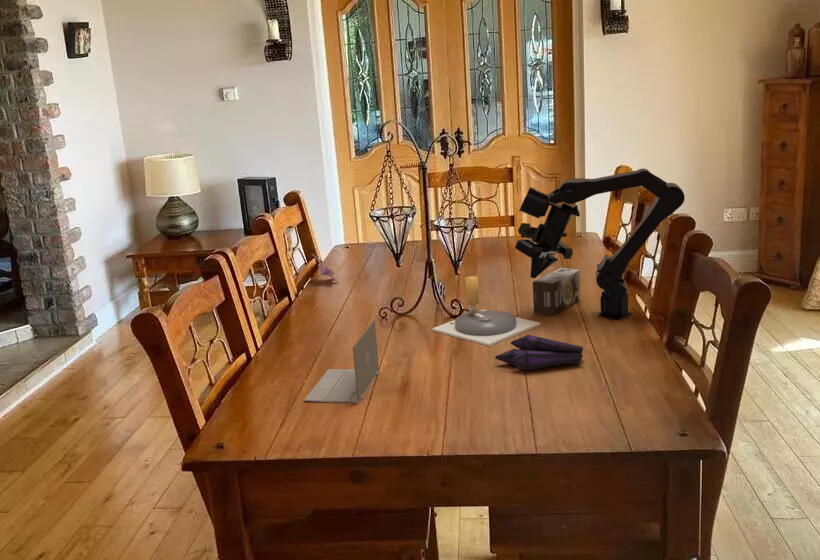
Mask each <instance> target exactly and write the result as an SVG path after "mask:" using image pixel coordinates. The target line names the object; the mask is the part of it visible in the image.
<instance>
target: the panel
mask: <svg viewBox="0 0 820 560" xmlns="http://www.w3.org/2000/svg"><path fill="white" fill-rule="evenodd" d="M479 311H488V310H486V309H481V310H479ZM515 317H516V327H515V328H513V329H512V330H510V331H507V332H504V333H500V334H493V335H472V334H466V333H463V332H460V331H458V330H457V329H456V327H455V320H456V318H455V319H454V320H452V321H449V322H446V323H443V324H440V325H438V326H435V327H432V328H431V331H432V332H436V333H439V334H443V335H446V336H451V337H454V338H457V339H462V340H465V341H468V342H473V343H476V344H479V345H483V346H487V347H491V346H493V345H496V344H497V343H501V342H502V341H505V340H507V339H510V338H512V337H514V336H518V335H520V334H522V333H525V332H527V331H528V330H531V329H533V328H536V327H538V326H540V325H541V323H540V322H538V321H535V320H529V319H525V318H522V317H517V316H515Z"/></svg>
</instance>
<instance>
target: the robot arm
mask: <svg viewBox="0 0 820 560" xmlns="http://www.w3.org/2000/svg"><path fill="white" fill-rule="evenodd" d="M637 187H643V188H645V189H646V190H647V191H648V192H650V193H651V194H653V195H654V199H653V202H652V203H651V206H650V207H649V210H648V211H647V213H646V214H645V216H643V218H642V219H641V220H640V222H639V223H638V224H637V225H636V227H635V228H634V230H632V232H631V233H630V235H629V236H627V238H626V240H624V242H623V243H622V244H621V246H620V247H619V249H617V251H616V252H615V253H613V255H611V256H609V255H608V254H604V256H603V258H602V260H601V261H600V262H599V263H597V264H596V270H595V279H596V281H595V282H596V283H597V284H596V285H597V286H598V287H599V288H600V290H603V291H601V296H600V297H599V298H600V301H599V302H600V312H598V314H597V315H598V316H601V317H604V318H605V317H606V318H610V319H615V320H621V319H623V318H625V317H628V316H630V315H632V313H633V312H632V311H630V310H629V292H628V287H627V283H626V280H625V279H624V278H623V276H624V273H625V272H626V269H627V267H628V264H629V263H630V262H631V260H632V259H633V258H634V257H635V256H636V254H637V252H639V250H640V249H641V248H642V246H644V244H645V243H646V242H647V240H648V239H649V238H650V236H652V234H653V233H654V232H655V230H656V229H657V228H658V226H659V225H660V224H662V222H663V221H664V220H666V219H667V218H668V217H670V216H671V215H672V214H674V213H675V212H676V211H677V210H678V209H680V207H681V206H682V205H683V204H684V202H685V199H686V198H685V193H684V191H683V190H682V188H681V187H680V186H679V185H678V184H677V183H674V182H666V181H665V180H664V179H663V178H661V177H659V176H657V175H655V174H654V173H652V172H651V171H650V170H649V169H647V168H644V167H643V168H639V169H637V170H633V171H627V172H621V173H616V174H612V175H606V176H602V177H597V178H581V177H580V178H578V177H577V178H574V177H573V178H567V179H565V180H563V181H562V182H561V183H560V185H559V187H558V188H556V189H554V190H552V191H551V192H549V193H548V194H547V193H545V192H542V191H540V190H537V189H536V188H534V187H531V186H530V187H529V188H528V191H527V192H526V194H525V196H524V198H523V201H522V203H521V205H520V208H519V212H521V213H524V214H527V215H529V216H532V217H534V218H536V219H540V218H543V217H545V216H546V214H547V216H546V218H545V221H544V223H540V224H539V225H538V226H537V227H536V226H535V227H534V226H531V224H530V223H527V222H521V223H520V225H519V227H518V229H517V233H518V234H519V235H520V239H518V240H517V241H516V244H515V246H514V249H516V250H517V251H519V252H521V253H522V254H523V255H525V256H527V257H528V258H530V259H531V264H530V278H532V279H536V278H537V277H538V276H540V274H542V273H543V272H544V271H545V270H547V269H548V268H549V267H550V266H551V265H553V264H554V263H556V262H558V260H559V259H558V258H556V257H555V255H556V254H561V255H562V256H563V259H564V260H571V259H572V256H573V254H574V251H573V248H572V247H570V246H568V245H567V244H565V243H563V242H562V238H566V237H567V235H568V233H567V232H566V230H567V227H568V225H569V222H570V221H571V217H572V215H573V216H575V217H580V216H581V212H580V210H579V207H578V204H576V203H579V202H581V201H584V200H587V199H589V198H590V197H593V196H595V195H599V194H600V195H601V194H605V193H609V192H615V191H621V190H626V189H630V188H637ZM573 204H575V205H573ZM549 207H550V209H549ZM548 210H549V211H548ZM547 212H548V213H547ZM525 238H526V239H525ZM530 239H531V240H530Z"/></svg>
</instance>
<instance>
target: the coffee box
mask: <svg viewBox="0 0 820 560" xmlns="http://www.w3.org/2000/svg"><path fill="white" fill-rule="evenodd" d="M580 271H581V270H580V269H573V268H566V267H560V268H558V269H556V270H554V271H552V272H550V273H548V274H546V275H544V276H542V277H540V278H538V279H536V280H534V281H533V282H532V293H533V294H532V299H533V301H532V302H533V313H534V314H539V315H545V316H546V315H547V316H555V315H557V314H558V313H560V312H562V311H563V310H565V309H566V308H569V307H570V306H572V305H574V304H575V303H576V302H578V301H580V300H581V287H580V286H581V285H580V284H581V280H580V279H581V278H580V274H581V272H580Z"/></svg>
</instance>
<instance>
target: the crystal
mask: <svg viewBox="0 0 820 560" xmlns="http://www.w3.org/2000/svg"><path fill="white" fill-rule="evenodd" d="M510 345H512V346H514V347H515V348H513V349H510V350H507V351H505V352H502V353H500V354H498V355H495V357H494V359H496V360H497V361H501V362H503V363H505V364H508V365H512V366H513V365H514V366H515V367H517V368H518V369H520V370H521V371H523V372H527V371H533V370H539V369H543V368H548V367H554V366H558V365H579V364H580V361H581V360H582V358H583V357H584V354H583V352H584V347H583V346H580V345H577V344H571V343H567V342H564V341H563V342H562V341H558V340H554V339H549V338H544V337H540V336H535V335H531V334H526V335H524V336H522V337H518V338H517V339H516V338H515V340H511V342H510Z"/></svg>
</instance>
